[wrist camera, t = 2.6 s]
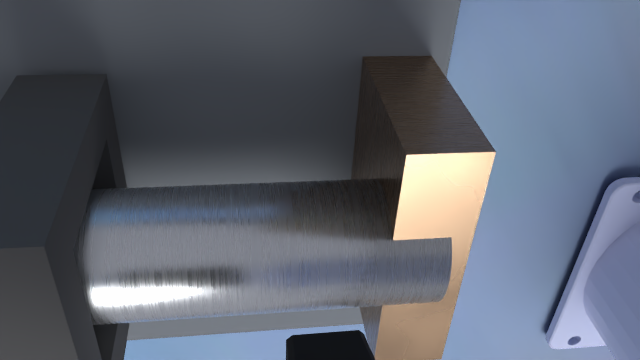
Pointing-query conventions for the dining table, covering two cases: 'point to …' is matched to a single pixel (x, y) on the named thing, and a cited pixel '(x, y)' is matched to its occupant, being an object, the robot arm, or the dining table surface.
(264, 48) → the mat
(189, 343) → the dining table surface
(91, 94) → the dark grey upright slab
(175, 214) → the rod holder
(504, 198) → the dining table surface
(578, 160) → the dining table surface
